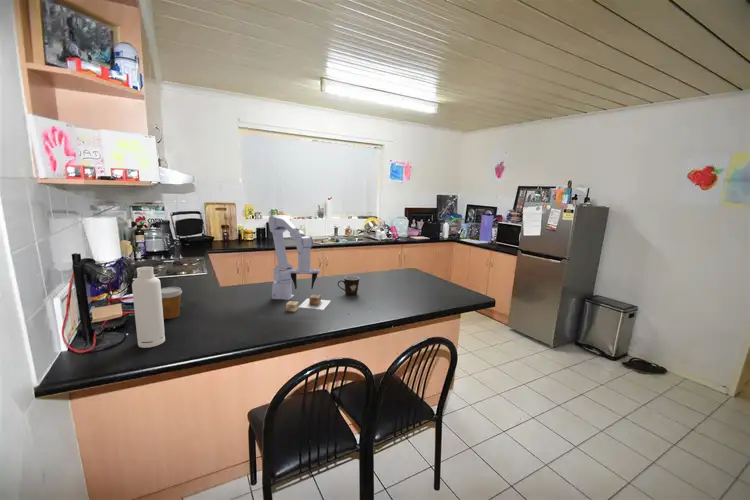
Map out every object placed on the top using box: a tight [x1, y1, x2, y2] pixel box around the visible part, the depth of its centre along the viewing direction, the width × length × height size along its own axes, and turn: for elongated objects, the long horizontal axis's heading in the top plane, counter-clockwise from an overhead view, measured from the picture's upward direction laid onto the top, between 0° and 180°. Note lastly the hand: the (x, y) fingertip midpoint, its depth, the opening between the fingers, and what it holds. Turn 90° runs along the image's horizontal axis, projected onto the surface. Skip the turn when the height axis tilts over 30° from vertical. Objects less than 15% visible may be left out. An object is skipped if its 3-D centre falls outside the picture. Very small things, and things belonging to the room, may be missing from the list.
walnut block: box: [309, 294, 322, 306], centre depth 157 cm, size 4×4×4 cm
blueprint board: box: [299, 298, 331, 311], centre depth 158 cm, size 13×13×1 cm
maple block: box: [285, 300, 300, 313], centre depth 149 cm, size 4×4×4 cm
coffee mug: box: [337, 275, 360, 297], centre depth 175 cm, size 12×9×10 cm
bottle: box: [131, 266, 166, 349], centre depth 111 cm, size 8×8×28 cm
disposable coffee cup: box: [161, 286, 183, 320], centre depth 135 cm, size 10×10×12 cm
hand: (304, 288), depth 150 cm, fingers open, 7 cm apart
